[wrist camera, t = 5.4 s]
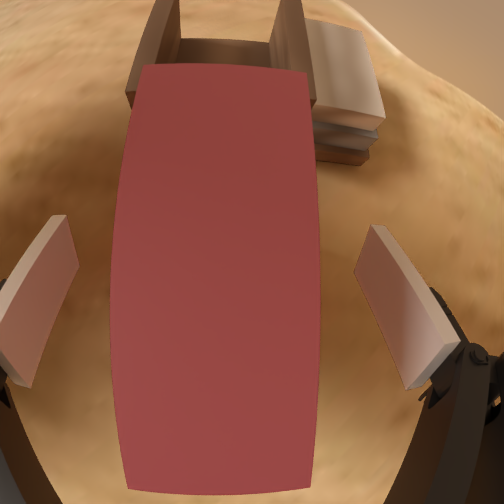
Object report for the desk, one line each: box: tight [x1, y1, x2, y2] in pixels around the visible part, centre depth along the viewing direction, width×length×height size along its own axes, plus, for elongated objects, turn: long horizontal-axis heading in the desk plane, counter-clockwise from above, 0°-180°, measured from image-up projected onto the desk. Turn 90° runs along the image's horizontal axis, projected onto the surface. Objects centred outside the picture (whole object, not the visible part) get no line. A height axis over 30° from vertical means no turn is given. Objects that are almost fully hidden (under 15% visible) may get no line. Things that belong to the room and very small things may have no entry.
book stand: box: [125, 0, 386, 166], centre depth 17 cm, size 16×10×7 cm, turn 89°
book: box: [110, 63, 321, 495], centre depth 12 cm, size 4×9×14 cm, turn 179°
